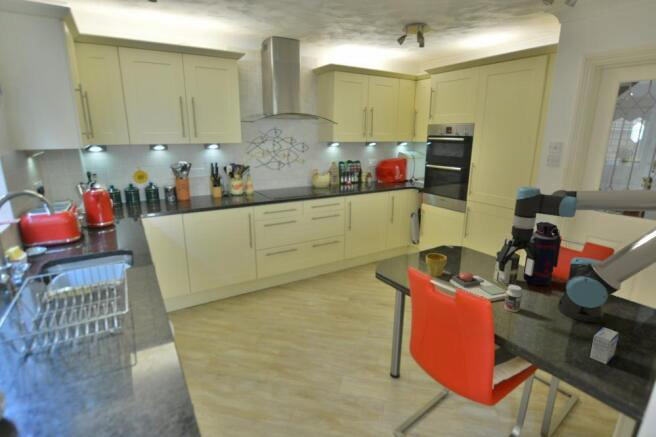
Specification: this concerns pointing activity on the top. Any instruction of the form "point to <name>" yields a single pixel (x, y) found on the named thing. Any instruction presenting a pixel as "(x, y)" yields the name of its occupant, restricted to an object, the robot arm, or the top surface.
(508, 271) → the coffee can
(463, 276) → the button
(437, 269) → the plant pot
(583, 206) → the robot arm
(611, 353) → the medicine box
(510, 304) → the pill bottle
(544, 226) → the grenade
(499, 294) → the white control panel
